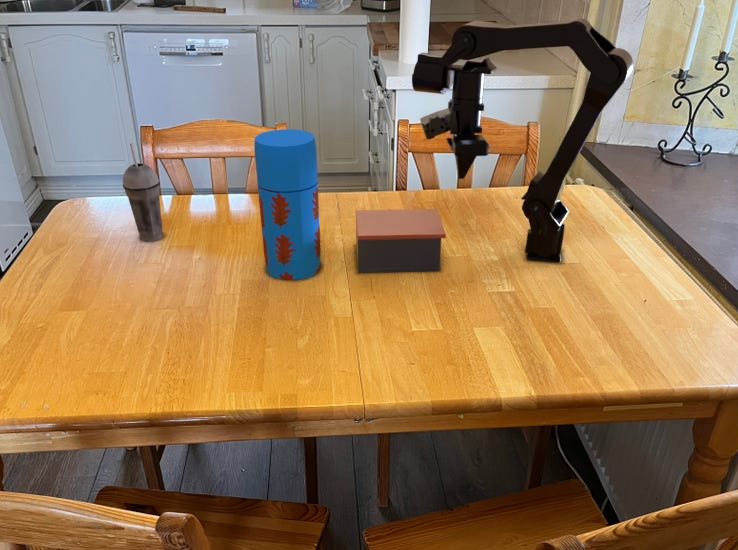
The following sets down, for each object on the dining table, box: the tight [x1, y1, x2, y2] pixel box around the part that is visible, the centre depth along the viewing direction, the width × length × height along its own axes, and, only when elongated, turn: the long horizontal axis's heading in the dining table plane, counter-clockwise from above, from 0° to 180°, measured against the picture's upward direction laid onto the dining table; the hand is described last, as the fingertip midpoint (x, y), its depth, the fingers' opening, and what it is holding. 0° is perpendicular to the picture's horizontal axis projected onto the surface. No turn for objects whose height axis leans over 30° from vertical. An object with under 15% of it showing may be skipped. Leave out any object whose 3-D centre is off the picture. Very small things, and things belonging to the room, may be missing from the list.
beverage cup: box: [122, 142, 163, 242], centre depth 140 cm, size 7×7×20 cm
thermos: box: [253, 128, 322, 281], centre depth 126 cm, size 11×11×25 cm
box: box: [355, 221, 442, 274], centre depth 135 cm, size 16×13×7 cm
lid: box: [355, 208, 447, 240], centre depth 133 cm, size 16×13×1 cm
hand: (461, 178), depth 137 cm, fingers closed
